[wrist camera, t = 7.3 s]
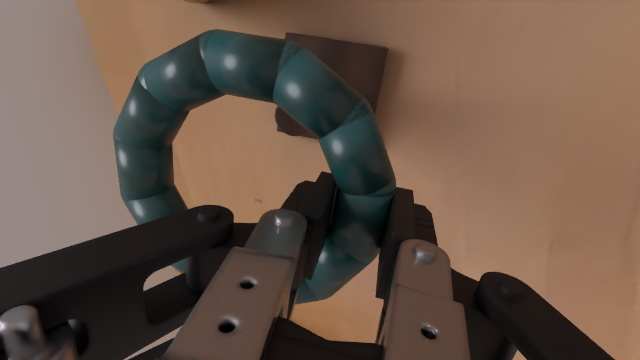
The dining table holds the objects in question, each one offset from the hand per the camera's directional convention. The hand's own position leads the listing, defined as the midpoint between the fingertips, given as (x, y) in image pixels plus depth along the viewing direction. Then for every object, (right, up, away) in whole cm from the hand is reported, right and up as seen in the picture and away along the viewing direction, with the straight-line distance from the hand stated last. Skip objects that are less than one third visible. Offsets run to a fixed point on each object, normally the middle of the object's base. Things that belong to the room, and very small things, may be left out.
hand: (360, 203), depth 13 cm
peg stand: (-1, +9, +19) cm, 21 cm away
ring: (-4, +1, 0) cm, 4 cm away
